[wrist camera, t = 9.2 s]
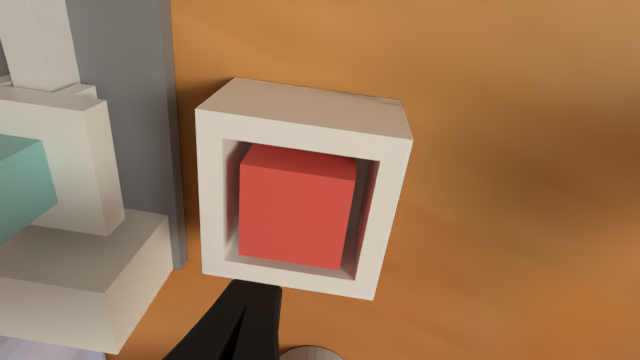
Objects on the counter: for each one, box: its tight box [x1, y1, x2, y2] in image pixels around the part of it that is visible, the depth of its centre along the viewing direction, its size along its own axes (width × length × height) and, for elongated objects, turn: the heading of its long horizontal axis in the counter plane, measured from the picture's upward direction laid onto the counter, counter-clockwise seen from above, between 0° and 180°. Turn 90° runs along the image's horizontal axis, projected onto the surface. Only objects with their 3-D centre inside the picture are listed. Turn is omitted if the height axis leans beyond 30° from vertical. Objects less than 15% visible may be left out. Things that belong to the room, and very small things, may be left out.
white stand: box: [0, 0, 188, 355], centre depth 15 cm, size 24×10×7 cm, turn 173°
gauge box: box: [195, 77, 413, 300], centre depth 18 cm, size 8×8×5 cm
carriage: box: [0, 74, 125, 245], centre depth 16 cm, size 6×7×7 cm
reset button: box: [239, 143, 356, 270], centre depth 17 cm, size 4×4×4 cm
